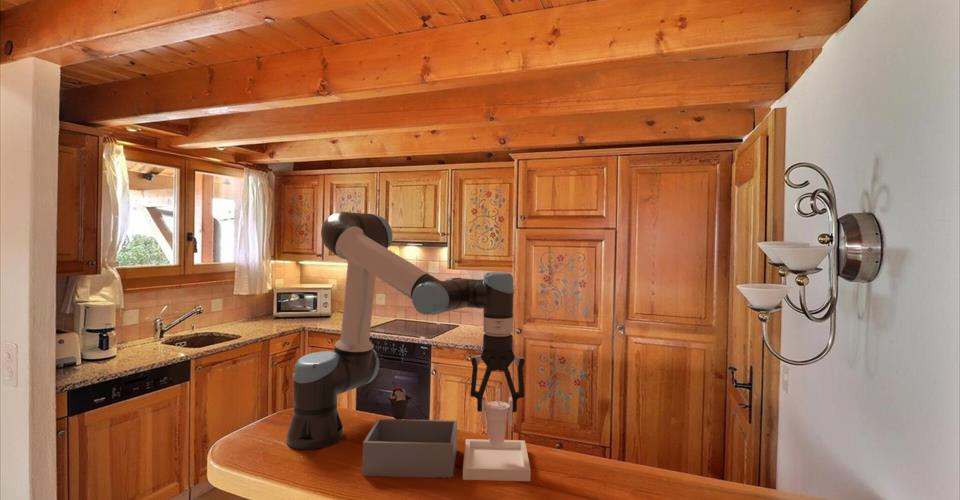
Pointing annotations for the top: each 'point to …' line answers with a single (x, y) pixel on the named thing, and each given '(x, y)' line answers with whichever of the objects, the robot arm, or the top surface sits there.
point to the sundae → (399, 402)
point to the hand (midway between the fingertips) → (496, 423)
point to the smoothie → (496, 420)
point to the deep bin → (410, 448)
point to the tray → (496, 461)
